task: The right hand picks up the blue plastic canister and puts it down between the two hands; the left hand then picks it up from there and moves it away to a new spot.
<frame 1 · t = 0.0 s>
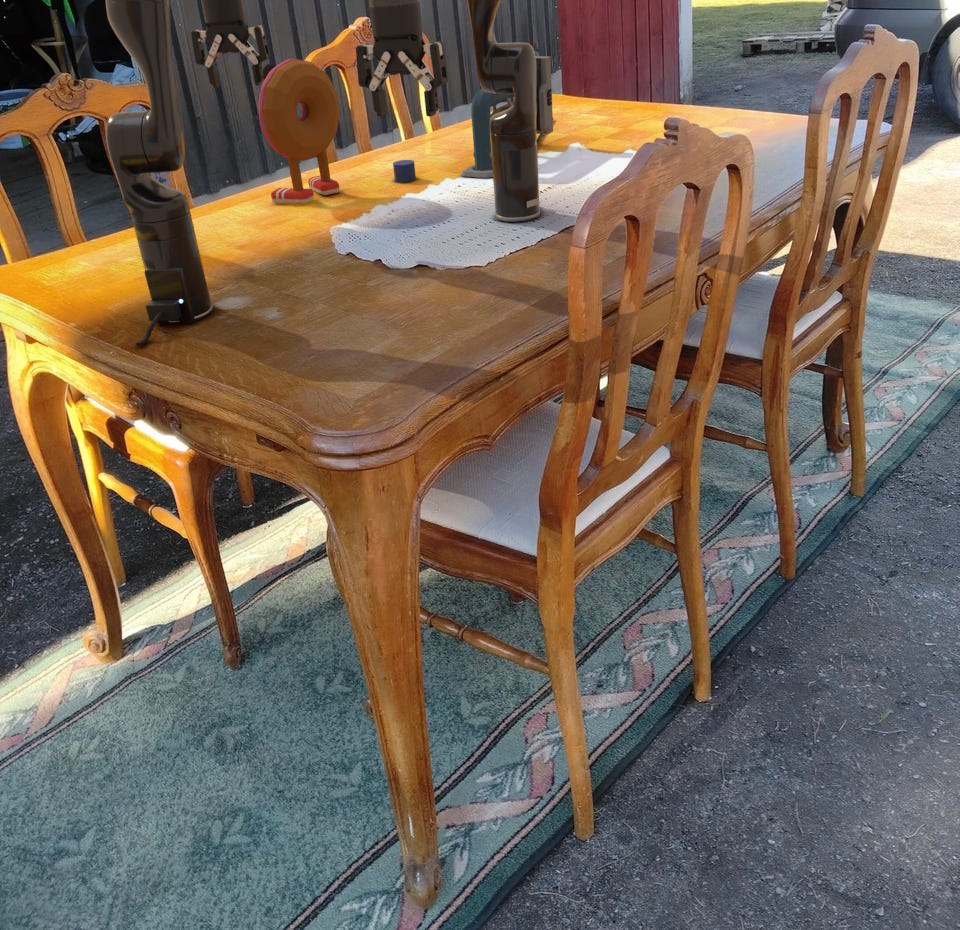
left hand: (238, 85, 189), 29 cm above the table, tool pointing down, fingers open, 8 cm apart
right hand: (406, 115, 150), 29 cm above the table, tool pointing down, fingers open, 8 cm apart
aerosol can: (168, 254, 196), on the table
toy: (310, 196, 226), on the table
clamp: (508, 159, 243), on the table
canister: (405, 179, 233), on the table
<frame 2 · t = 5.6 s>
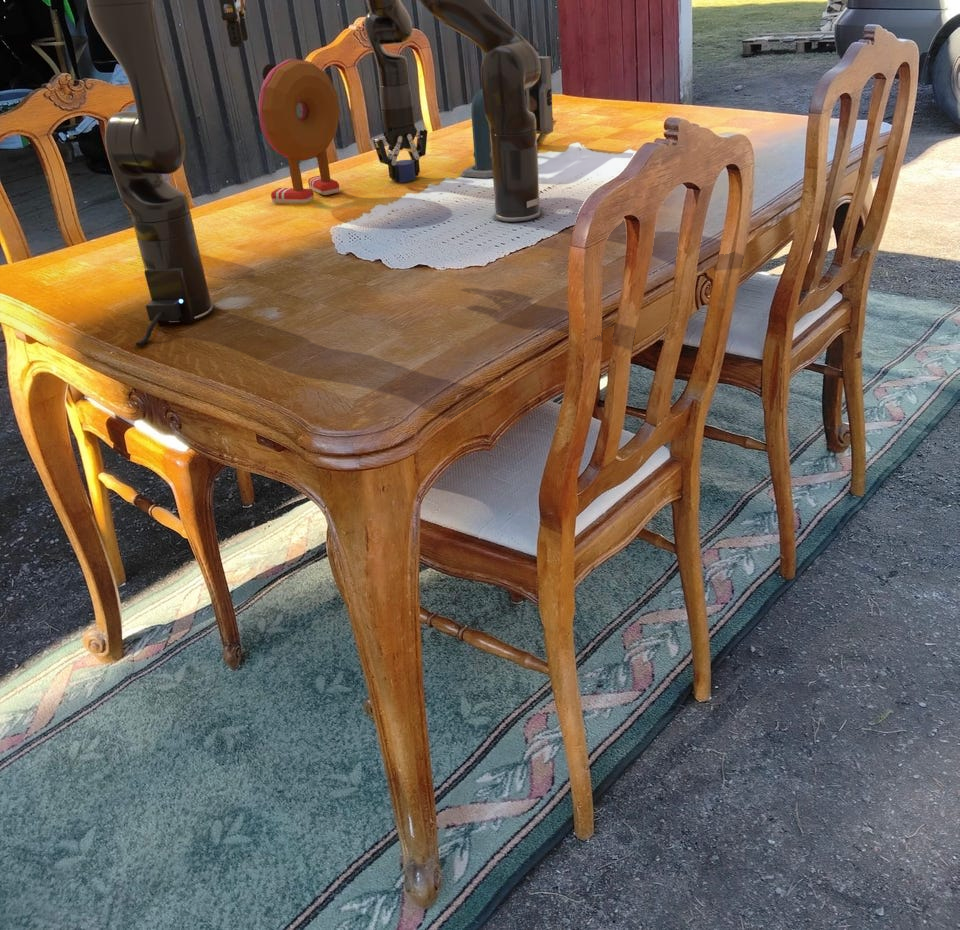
left hand: (239, 43, 173), 38 cm above the table, tool pointing down, fingers open, 8 cm apart
right hand: (405, 177, 233), 1 cm above the table, tool pointing down, fingers closed on canister, 5 cm apart
canister: (405, 179, 233), on the table, touching right hand
everything else where it was.
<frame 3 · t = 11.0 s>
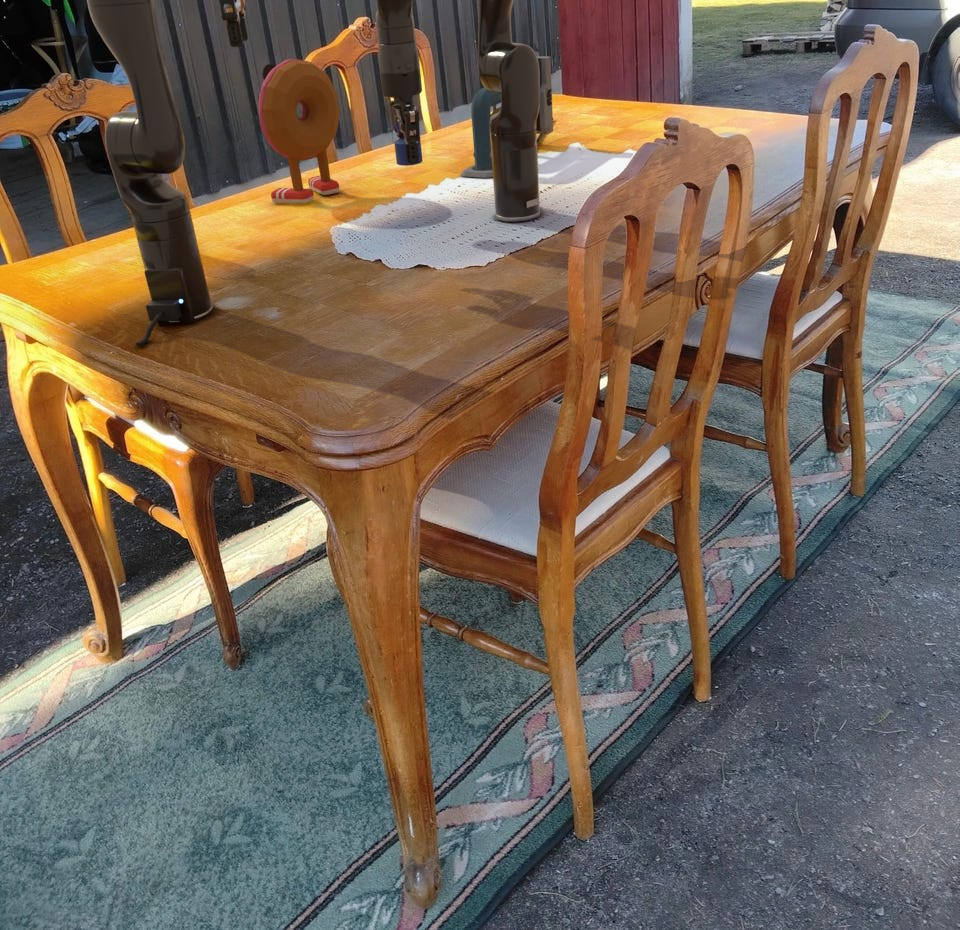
left hand: (239, 43, 173), 38 cm above the table, tool pointing down, fingers open, 8 cm apart
right hand: (409, 159, 190), 14 cm above the table, tool pointing down, fingers closed on canister, 5 cm apart
canister: (409, 162, 190), point 14 cm above the table, touching right hand
everything else where it was.
when the right hand's fingers open (1 cm above the table, at t = 16.7 s): canister stays where it is, on the table.
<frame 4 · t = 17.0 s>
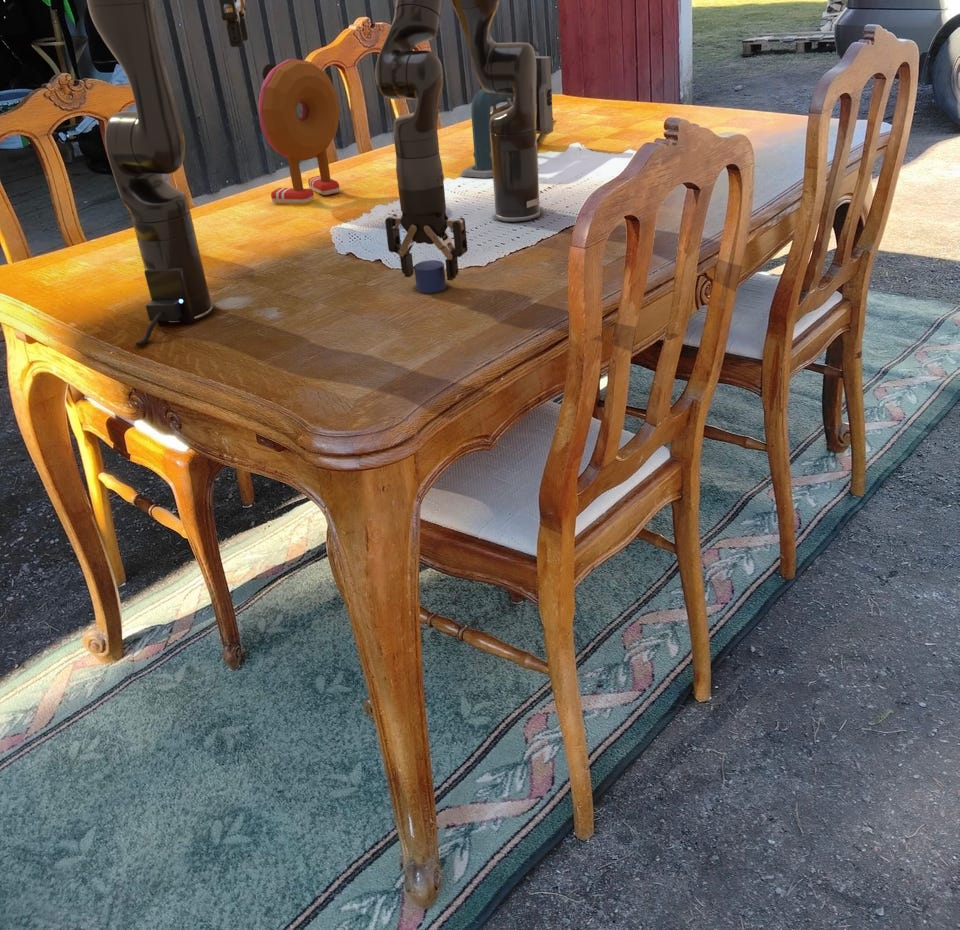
left hand: (239, 43, 173), 38 cm above the table, tool pointing down, fingers open, 8 cm apart
right hand: (430, 277, 166), 2 cm above the table, tool pointing down, fingers open, 7 cm apart
canister: (431, 288, 167), on the table
everything else where it was.
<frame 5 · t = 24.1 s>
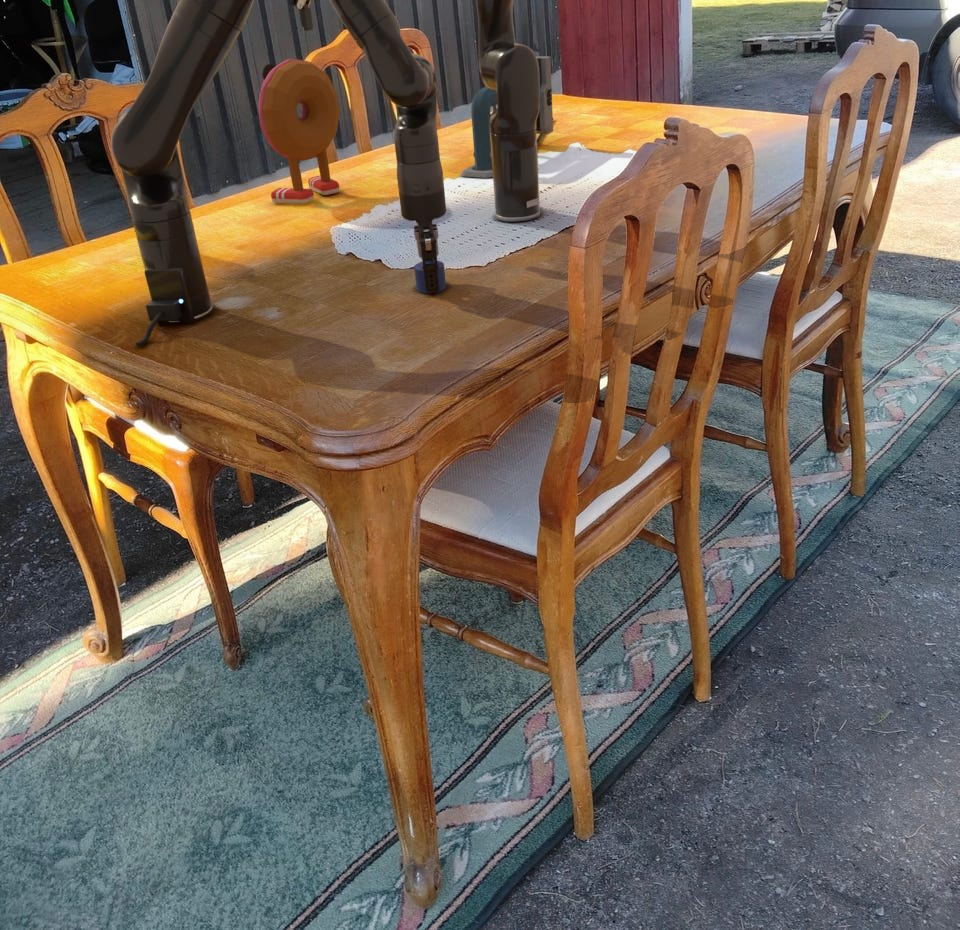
left hand: (431, 285, 167), 1 cm above the table, tool pointing down, fingers closed on canister, 5 cm apart
right hand: (328, 29, 182), 38 cm above the table, tool pointing down, fingers open, 8 cm apart
canister: (431, 288, 167), on the table, touching left hand
everything else where it was.
when the left hand's fingers open (1 cm above the table, at t = 32.1 s): canister stays where it is, on the table.
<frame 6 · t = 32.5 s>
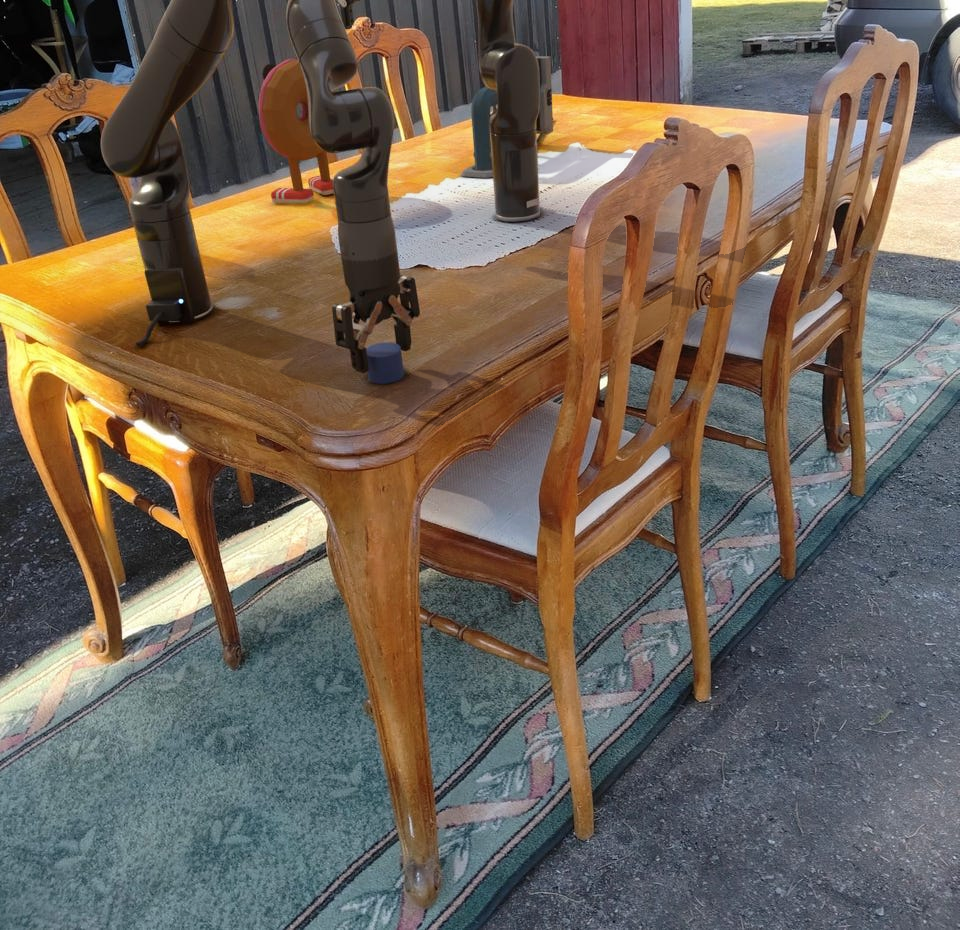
left hand: (383, 360, 137), 3 cm above the table, tool pointing down, fingers open, 8 cm apart
right hand: (328, 29, 182), 38 cm above the table, tool pointing down, fingers open, 8 cm apart
canister: (386, 376, 138), on the table
everything else where it was.
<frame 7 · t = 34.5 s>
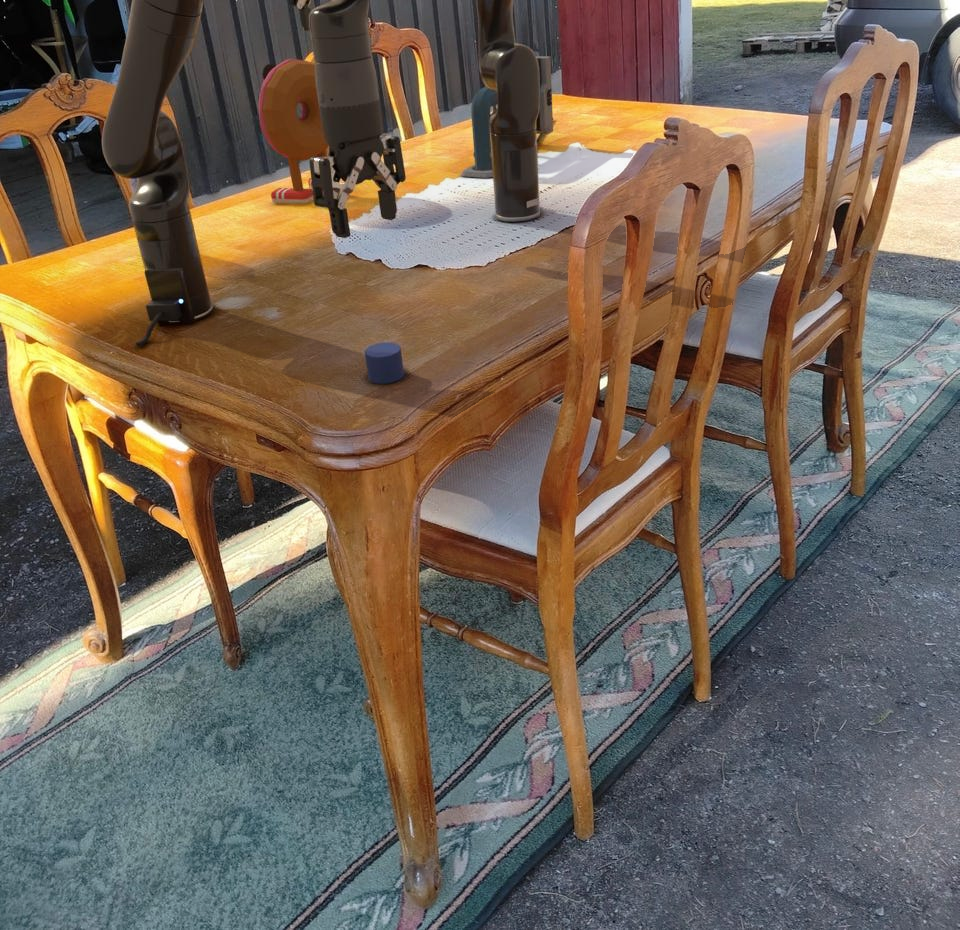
left hand: (366, 227, 127), 22 cm above the table, tool pointing down, fingers open, 8 cm apart
right hand: (328, 29, 182), 38 cm above the table, tool pointing down, fingers open, 8 cm apart
nothing on the table moved.
at the end: canister inside the target area (0.1 cm from its centre), on the table; canister tilted 0°; the two hands never held the canister at the same time; the left hand is holding nothing; the right hand is holding nothing; canister at rest at the end (0.0 cm/s) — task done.
